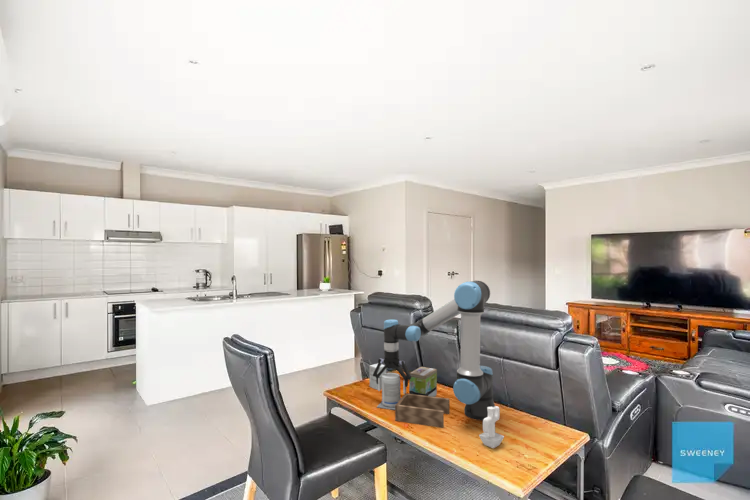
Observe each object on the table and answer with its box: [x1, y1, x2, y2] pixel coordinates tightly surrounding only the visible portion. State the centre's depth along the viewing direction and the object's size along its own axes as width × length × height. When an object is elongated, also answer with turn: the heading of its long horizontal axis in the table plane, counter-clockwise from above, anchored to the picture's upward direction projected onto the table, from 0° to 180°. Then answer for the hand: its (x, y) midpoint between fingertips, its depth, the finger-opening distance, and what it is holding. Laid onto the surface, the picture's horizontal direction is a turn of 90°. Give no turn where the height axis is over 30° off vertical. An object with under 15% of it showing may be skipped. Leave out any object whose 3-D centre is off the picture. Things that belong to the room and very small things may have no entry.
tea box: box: [408, 366, 438, 397], centre depth 206 cm, size 15×10×15 cm, turn 148°
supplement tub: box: [381, 372, 402, 407], centre depth 197 cm, size 10×10×15 cm
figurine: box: [478, 405, 505, 449], centre depth 155 cm, size 7×9×15 cm
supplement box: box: [368, 362, 387, 391], centre depth 224 cm, size 7×7×13 cm
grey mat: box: [376, 401, 395, 411], centre depth 197 cm, size 12×12×1 cm
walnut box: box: [394, 392, 451, 429], centre depth 182 cm, size 22×17×7 cm
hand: (392, 391), depth 197 cm, fingers open, 13 cm apart
